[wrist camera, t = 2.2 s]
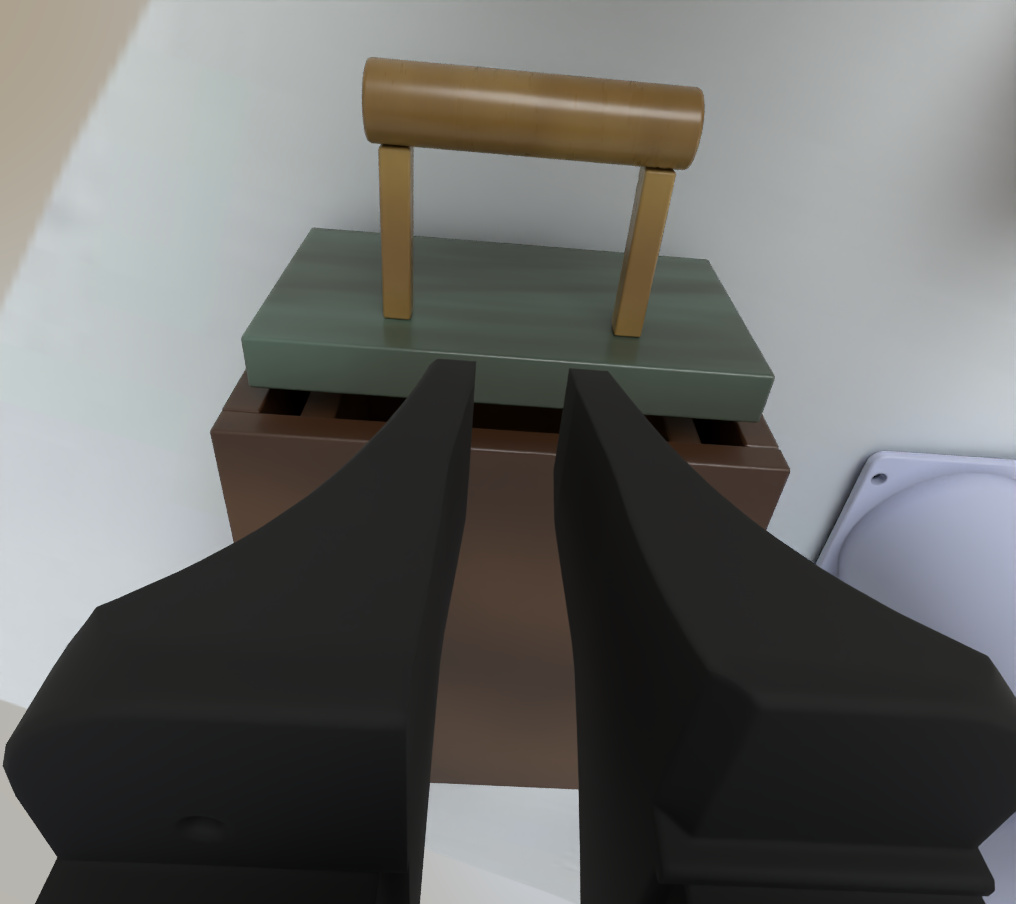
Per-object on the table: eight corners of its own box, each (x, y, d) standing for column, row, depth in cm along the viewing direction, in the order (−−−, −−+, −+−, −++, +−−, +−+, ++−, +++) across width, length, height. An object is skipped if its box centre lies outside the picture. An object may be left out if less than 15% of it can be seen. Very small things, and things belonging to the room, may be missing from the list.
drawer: (292, 14, 16) (193, 57, 11) (761, 58, 17) (869, 119, 12) (340, 553, 27) (300, 701, 22) (626, 570, 27) (652, 719, 22)
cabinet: (302, 271, 21) (207, 431, 14) (707, 302, 21) (792, 470, 15) (334, 585, 29) (282, 777, 22) (625, 602, 29) (657, 794, 23)
